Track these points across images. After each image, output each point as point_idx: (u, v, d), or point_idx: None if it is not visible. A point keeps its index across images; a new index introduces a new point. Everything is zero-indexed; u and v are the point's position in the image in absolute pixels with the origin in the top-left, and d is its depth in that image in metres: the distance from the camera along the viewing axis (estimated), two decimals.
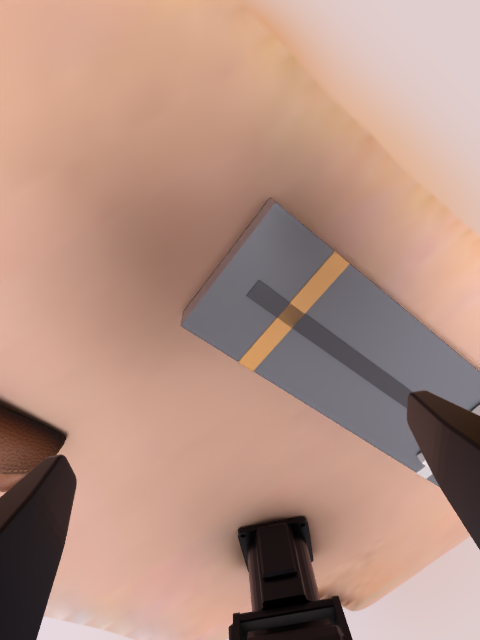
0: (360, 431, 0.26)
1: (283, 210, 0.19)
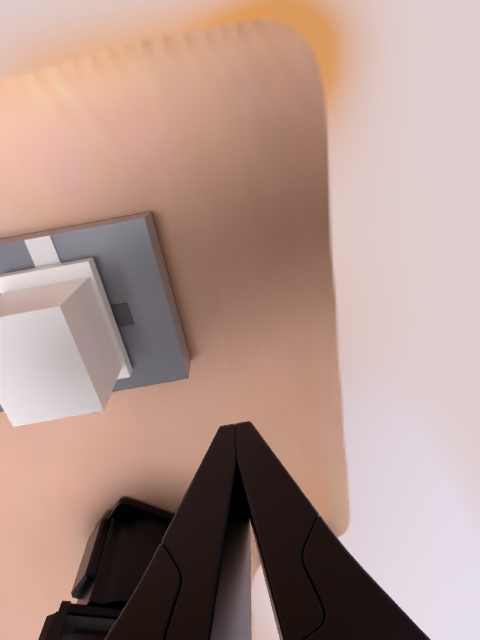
0: None
1: None
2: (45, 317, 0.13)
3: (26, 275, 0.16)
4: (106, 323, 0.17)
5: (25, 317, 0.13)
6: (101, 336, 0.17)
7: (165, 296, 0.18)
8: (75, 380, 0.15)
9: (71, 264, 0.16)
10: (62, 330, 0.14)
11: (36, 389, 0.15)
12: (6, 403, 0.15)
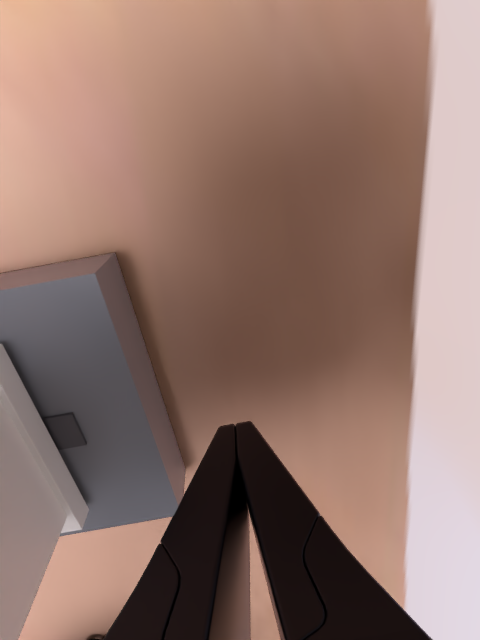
0: None
1: None
2: None
3: None
4: (33, 455, 0.10)
5: None
6: (16, 492, 0.09)
7: (139, 400, 0.10)
8: None
9: None
10: None
11: None
12: None
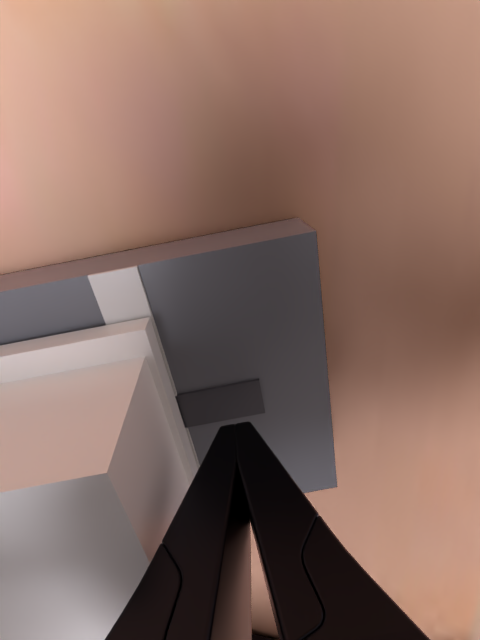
0: None
1: None
2: (72, 495, 0.06)
3: (26, 357, 0.08)
4: (171, 431, 0.10)
5: (25, 496, 0.06)
6: (168, 466, 0.09)
7: (325, 366, 0.10)
8: None
9: (112, 335, 0.08)
10: (109, 518, 0.06)
11: (49, 614, 0.07)
12: None
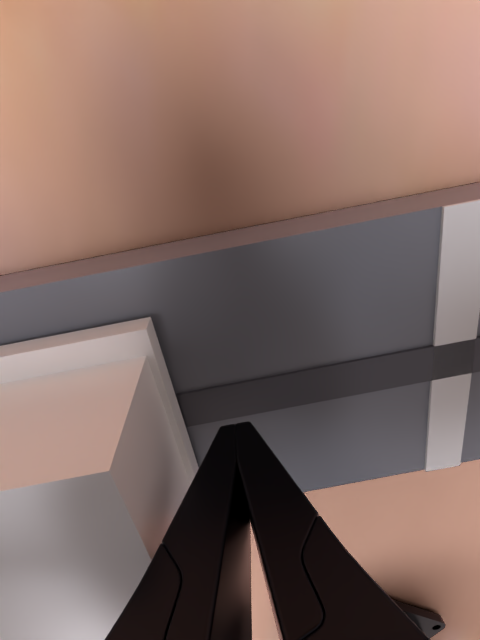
0: None
1: None
2: (74, 493, 0.06)
3: (28, 357, 0.09)
4: (172, 430, 0.10)
5: (28, 495, 0.06)
6: (169, 465, 0.09)
7: None
8: None
9: (113, 335, 0.08)
10: (112, 515, 0.06)
11: (52, 612, 0.07)
12: None
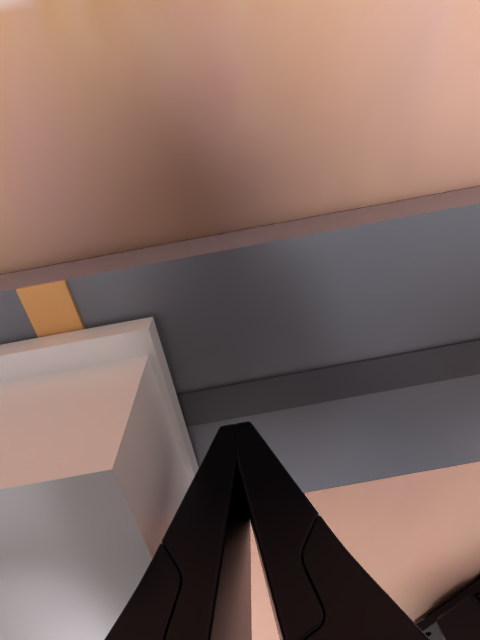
0: (437, 460, 0.12)
1: None
2: (78, 491, 0.06)
3: (30, 355, 0.09)
4: (173, 429, 0.10)
5: (31, 492, 0.06)
6: (170, 465, 0.09)
7: None
8: None
9: (116, 334, 0.09)
10: (114, 514, 0.06)
11: (53, 610, 0.07)
12: None
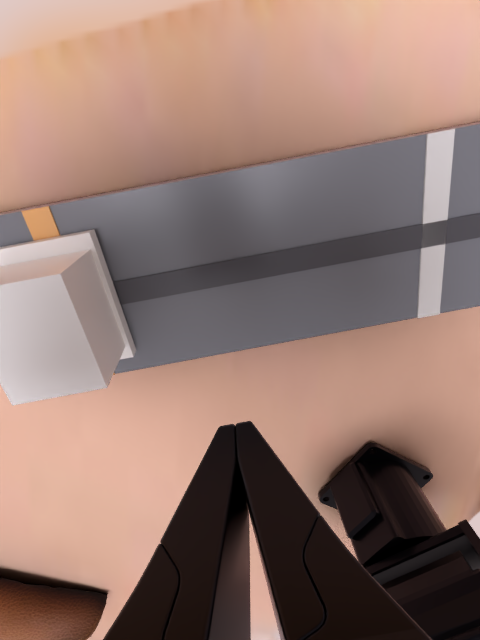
0: (290, 333, 0.19)
1: None
2: (45, 286, 0.13)
3: (24, 248, 0.15)
4: (109, 299, 0.17)
5: (24, 285, 0.13)
6: (103, 312, 0.16)
7: None
8: (77, 354, 0.14)
9: (71, 236, 0.15)
10: (63, 301, 0.13)
11: (36, 365, 0.14)
12: (4, 380, 0.14)
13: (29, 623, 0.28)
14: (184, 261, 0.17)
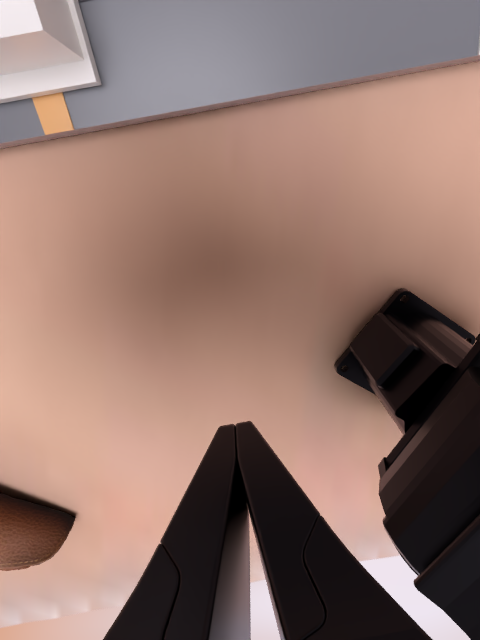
0: (309, 73, 0.14)
1: None
2: None
3: None
4: None
5: None
6: None
7: None
8: None
9: None
10: None
11: None
12: None
13: None
14: None
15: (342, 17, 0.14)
